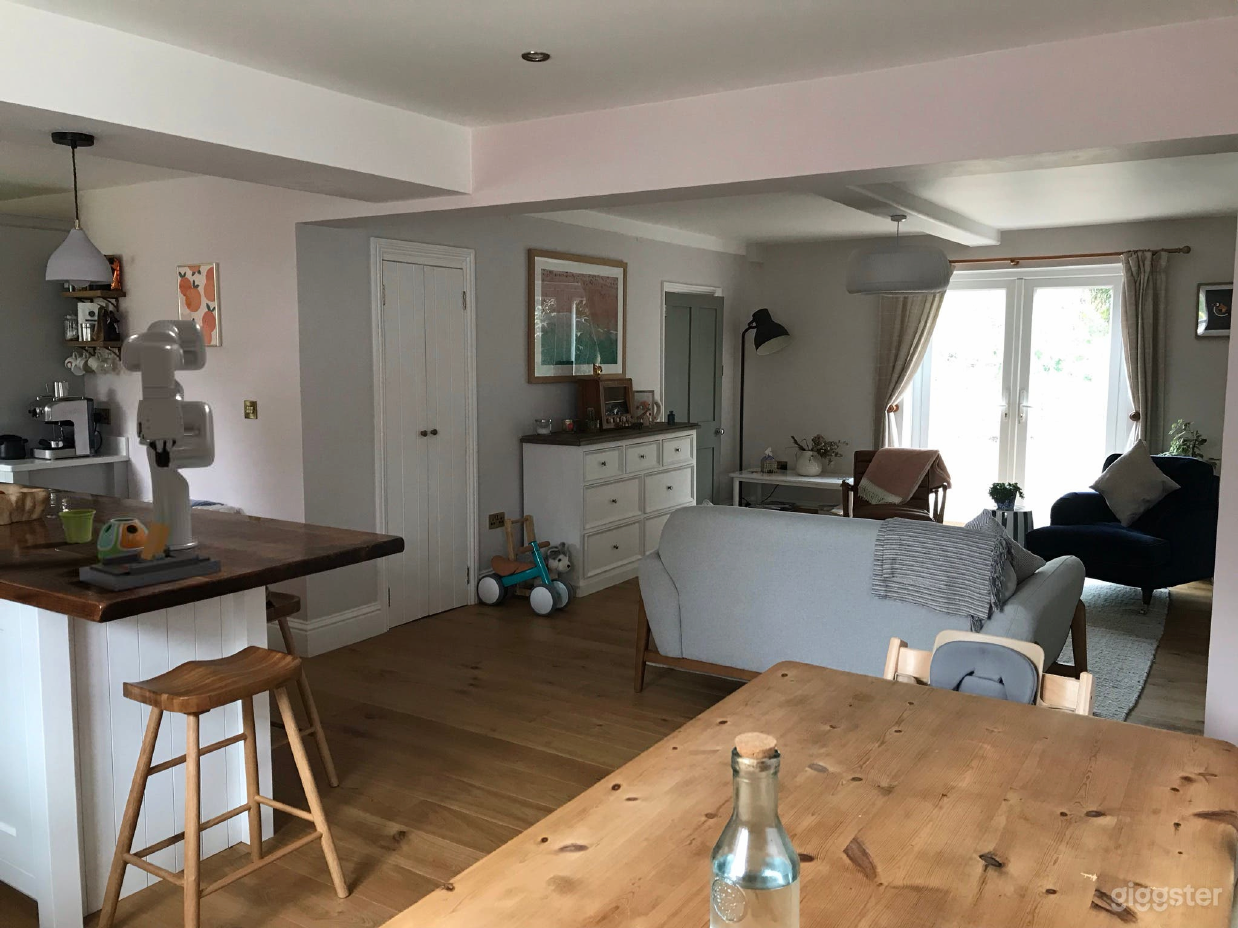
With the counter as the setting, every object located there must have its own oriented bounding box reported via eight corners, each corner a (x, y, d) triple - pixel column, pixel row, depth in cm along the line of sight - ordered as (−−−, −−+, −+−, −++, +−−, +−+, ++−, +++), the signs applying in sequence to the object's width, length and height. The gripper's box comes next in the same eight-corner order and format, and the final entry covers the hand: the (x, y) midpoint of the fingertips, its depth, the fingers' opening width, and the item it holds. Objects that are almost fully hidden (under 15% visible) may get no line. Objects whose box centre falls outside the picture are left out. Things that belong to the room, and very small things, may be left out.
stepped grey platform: (94, 564, 240) (94, 557, 240) (166, 552, 254) (166, 546, 254) (134, 575, 228) (133, 568, 228) (207, 562, 242) (206, 555, 242)
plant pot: (104, 540, 287) (102, 510, 286) (74, 545, 279) (73, 515, 278) (82, 537, 291) (81, 508, 290) (53, 543, 283) (51, 513, 282)
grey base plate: (79, 580, 237) (78, 555, 236) (183, 562, 257) (182, 539, 257) (115, 591, 226) (114, 565, 225) (220, 571, 246) (219, 547, 246)
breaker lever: (139, 558, 242) (150, 521, 243) (148, 559, 244) (159, 523, 245) (151, 561, 238) (162, 524, 240) (160, 563, 240) (171, 526, 242)
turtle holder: (130, 555, 266) (128, 512, 265) (161, 564, 254) (159, 519, 253) (82, 562, 256) (79, 517, 255) (112, 572, 245) (109, 525, 244)
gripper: (181, 391, 252) (184, 462, 255) (121, 394, 241) (125, 468, 243) (195, 393, 247) (199, 465, 250) (135, 396, 236) (139, 472, 239)
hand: (163, 466), depth 247 cm, fingers closed
